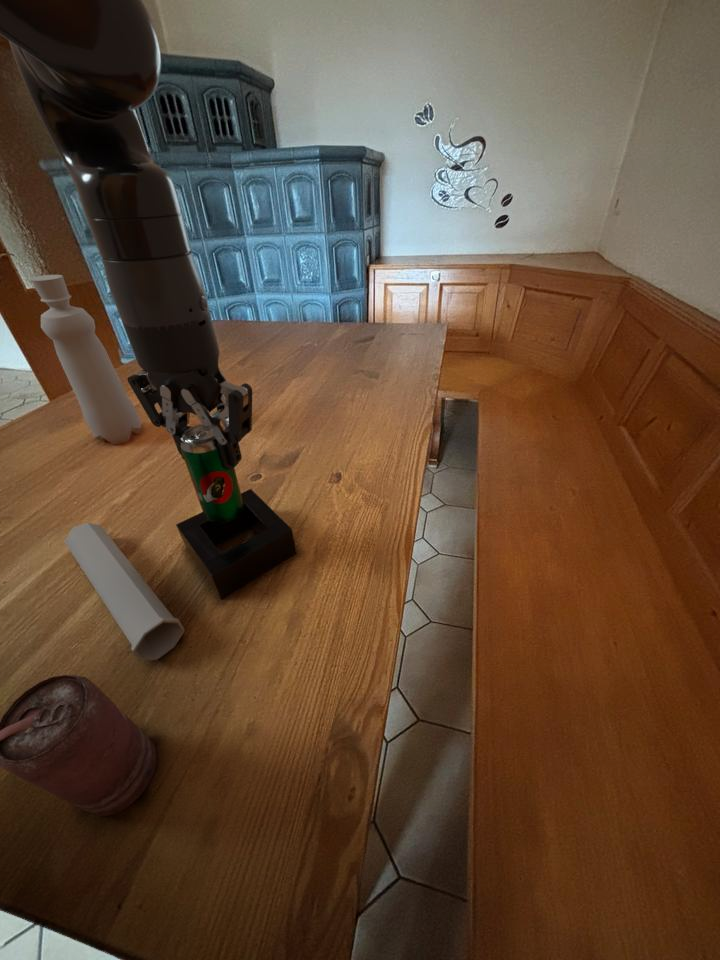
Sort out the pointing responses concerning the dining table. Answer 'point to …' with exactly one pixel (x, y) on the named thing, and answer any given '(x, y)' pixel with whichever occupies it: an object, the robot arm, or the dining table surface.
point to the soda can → (211, 475)
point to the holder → (246, 557)
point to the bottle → (86, 364)
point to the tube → (124, 593)
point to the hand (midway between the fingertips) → (212, 461)
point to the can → (76, 745)
